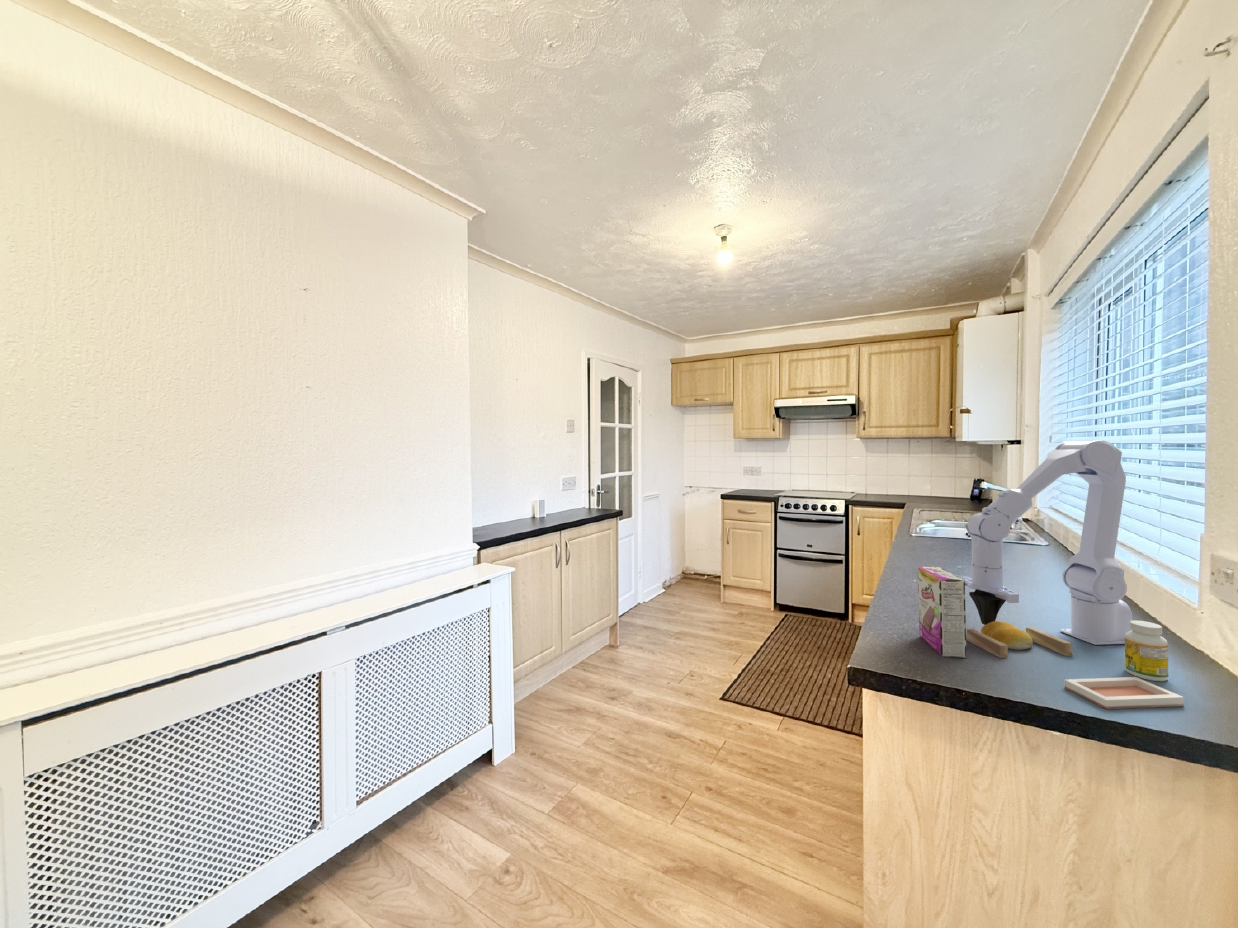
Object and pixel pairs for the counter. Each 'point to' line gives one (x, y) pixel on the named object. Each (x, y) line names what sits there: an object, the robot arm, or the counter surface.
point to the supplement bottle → (1146, 651)
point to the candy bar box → (942, 611)
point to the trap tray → (1123, 693)
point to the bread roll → (1008, 635)
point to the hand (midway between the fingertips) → (987, 624)
